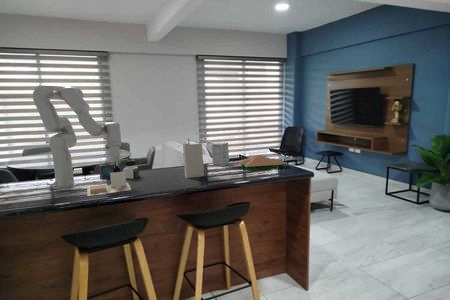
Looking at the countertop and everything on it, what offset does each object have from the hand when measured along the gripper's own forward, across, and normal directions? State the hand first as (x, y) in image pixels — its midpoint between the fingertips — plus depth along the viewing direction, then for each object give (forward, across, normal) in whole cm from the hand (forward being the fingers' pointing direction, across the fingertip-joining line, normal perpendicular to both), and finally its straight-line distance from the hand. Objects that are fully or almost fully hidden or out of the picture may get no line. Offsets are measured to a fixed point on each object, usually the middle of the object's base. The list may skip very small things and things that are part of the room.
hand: (117, 174), depth 177 cm
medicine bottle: (+7, -14, +10) cm, 18 cm away
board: (+7, +9, -6) cm, 13 cm away
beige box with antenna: (+7, +2, +47) cm, 47 cm away
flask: (+7, -24, -4) cm, 25 cm away
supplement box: (+7, -22, +77) cm, 80 cm away
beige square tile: (+6, +5, 0) cm, 8 cm away
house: (+7, -1, +99) cm, 99 cm away
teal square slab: (+5, +6, -11) cm, 14 cm away
